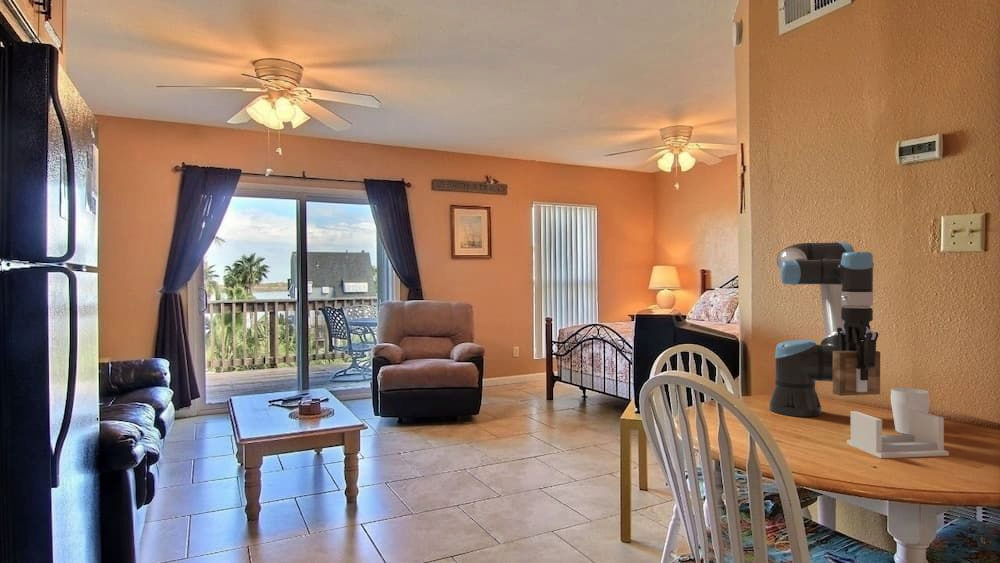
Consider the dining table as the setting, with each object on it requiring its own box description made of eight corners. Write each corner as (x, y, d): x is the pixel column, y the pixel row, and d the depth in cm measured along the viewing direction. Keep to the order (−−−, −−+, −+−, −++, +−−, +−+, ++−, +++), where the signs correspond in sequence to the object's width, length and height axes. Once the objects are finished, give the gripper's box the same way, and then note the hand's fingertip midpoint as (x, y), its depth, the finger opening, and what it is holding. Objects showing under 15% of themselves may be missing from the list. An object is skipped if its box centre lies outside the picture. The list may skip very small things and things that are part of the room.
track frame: (846, 443, 150) (846, 409, 150) (909, 441, 152) (909, 408, 152) (880, 458, 139) (880, 421, 138) (948, 455, 140) (949, 419, 140)
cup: (936, 437, 155) (936, 394, 155) (899, 436, 157) (899, 393, 157) (919, 429, 164) (919, 387, 164) (884, 427, 166) (884, 386, 166)
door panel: (832, 393, 161) (832, 351, 160) (872, 391, 162) (872, 350, 161) (840, 396, 157) (840, 353, 157) (880, 394, 158) (881, 351, 158)
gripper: (825, 305, 167) (824, 384, 167) (865, 309, 150) (865, 397, 151) (849, 304, 167) (848, 383, 168) (892, 308, 151) (891, 396, 152)
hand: (856, 389), depth 160 cm, fingers closed on door panel, 3 cm apart
